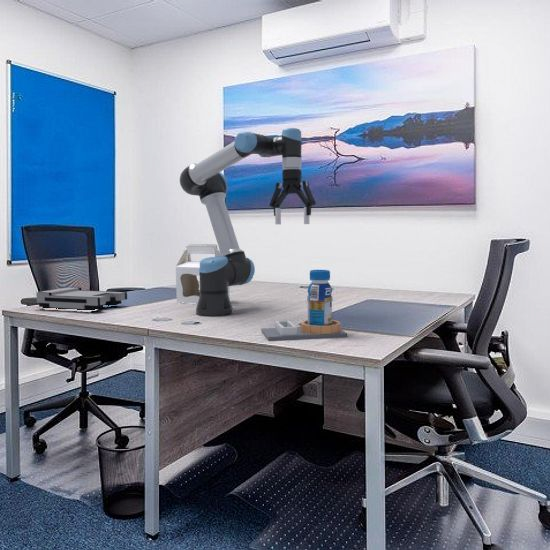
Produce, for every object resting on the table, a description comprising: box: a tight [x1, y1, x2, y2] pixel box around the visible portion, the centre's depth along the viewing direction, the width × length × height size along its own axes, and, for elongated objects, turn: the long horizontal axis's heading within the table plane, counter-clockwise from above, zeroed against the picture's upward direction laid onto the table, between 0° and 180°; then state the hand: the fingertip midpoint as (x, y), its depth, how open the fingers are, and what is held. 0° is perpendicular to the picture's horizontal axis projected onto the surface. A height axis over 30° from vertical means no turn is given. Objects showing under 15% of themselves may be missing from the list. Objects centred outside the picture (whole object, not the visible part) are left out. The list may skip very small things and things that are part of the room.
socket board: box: [260, 319, 348, 342], centre depth 170 cm, size 26×14×4 cm, turn 101°
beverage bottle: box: [306, 269, 333, 326], centre depth 170 cm, size 8×8×20 cm
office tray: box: [35, 286, 128, 310], centre depth 229 cm, size 21×32×8 cm, turn 71°
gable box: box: [175, 243, 231, 305], centre depth 243 cm, size 22×13×28 cm, turn 64°
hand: (292, 224), depth 200 cm, fingers open, 13 cm apart
